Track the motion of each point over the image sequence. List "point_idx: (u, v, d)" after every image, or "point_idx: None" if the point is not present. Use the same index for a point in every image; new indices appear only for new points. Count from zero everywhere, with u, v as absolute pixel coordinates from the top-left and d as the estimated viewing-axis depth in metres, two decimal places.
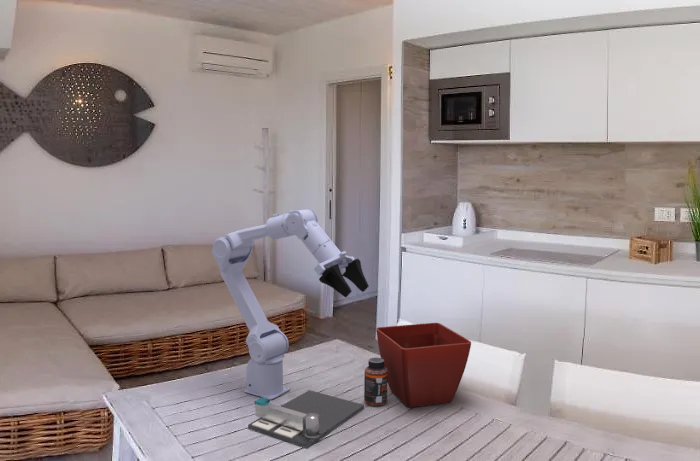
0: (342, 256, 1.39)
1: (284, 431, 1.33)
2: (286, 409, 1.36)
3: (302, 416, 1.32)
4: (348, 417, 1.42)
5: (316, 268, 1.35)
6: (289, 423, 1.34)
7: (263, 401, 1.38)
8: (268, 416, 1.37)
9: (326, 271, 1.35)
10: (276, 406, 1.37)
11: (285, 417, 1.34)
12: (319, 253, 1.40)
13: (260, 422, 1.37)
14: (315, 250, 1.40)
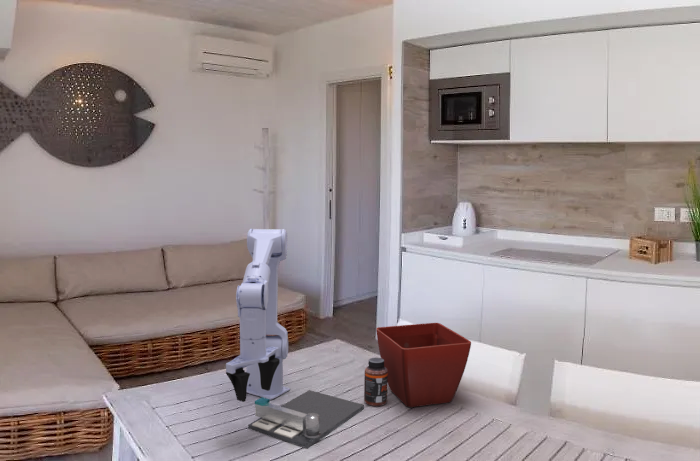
0: None
1: (284, 431, 1.33)
2: (286, 409, 1.36)
3: (302, 416, 1.32)
4: (348, 417, 1.42)
5: (228, 365, 1.26)
6: (289, 423, 1.34)
7: (263, 401, 1.38)
8: (268, 416, 1.37)
9: (235, 374, 1.27)
10: (276, 406, 1.37)
11: (285, 417, 1.34)
12: (244, 344, 1.29)
13: (260, 422, 1.37)
14: (243, 338, 1.29)
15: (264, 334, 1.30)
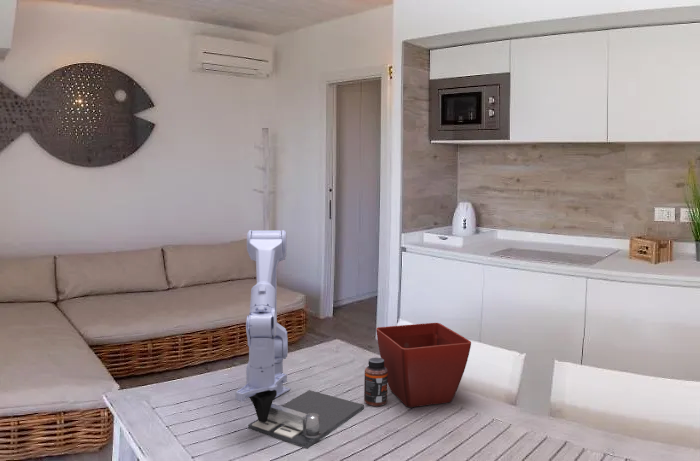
0: None
1: (284, 431, 1.33)
2: (286, 409, 1.36)
3: (302, 416, 1.32)
4: (348, 417, 1.42)
5: (237, 394, 1.29)
6: (289, 423, 1.34)
7: None
8: (268, 416, 1.37)
9: (256, 396, 1.33)
10: (276, 406, 1.37)
11: (285, 417, 1.35)
12: (253, 373, 1.32)
13: (260, 422, 1.37)
14: (252, 367, 1.32)
15: (273, 362, 1.34)
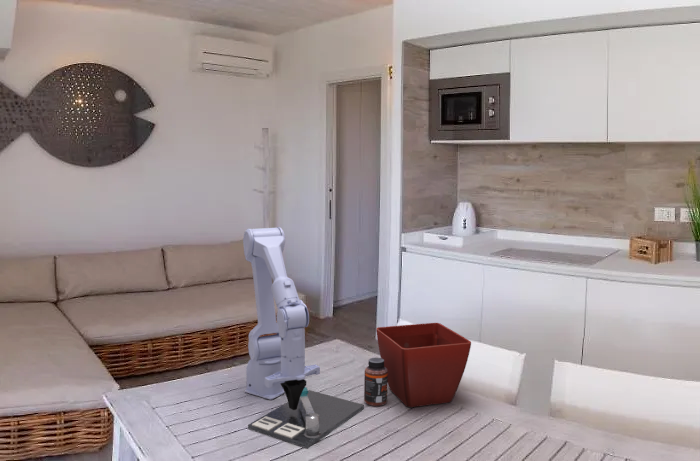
0: None
1: (284, 431, 1.33)
2: (308, 403, 1.39)
3: (308, 413, 1.34)
4: (348, 417, 1.42)
5: (266, 380, 1.37)
6: (304, 417, 1.37)
7: None
8: (300, 406, 1.43)
9: (285, 384, 1.40)
10: (306, 398, 1.42)
11: (303, 410, 1.38)
12: (283, 361, 1.39)
13: (260, 422, 1.37)
14: (282, 356, 1.39)
15: None
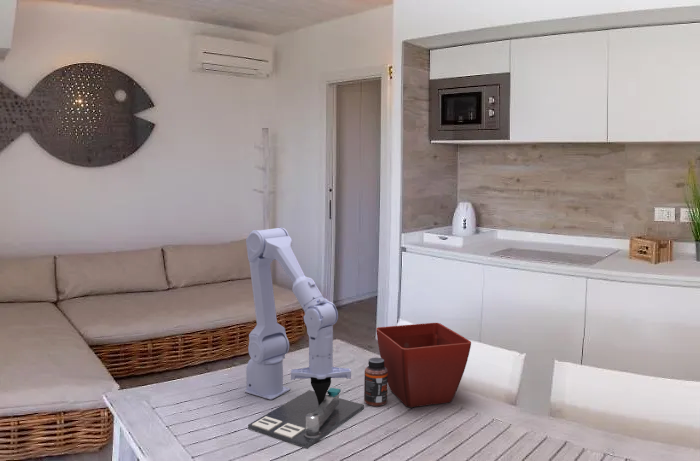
0: None
1: (284, 431, 1.33)
2: (325, 404, 1.39)
3: None
4: (348, 417, 1.42)
5: None
6: None
7: (331, 391, 1.45)
8: None
9: None
10: (329, 399, 1.41)
11: None
12: (309, 357, 1.42)
13: (260, 422, 1.37)
14: (309, 352, 1.42)
15: None
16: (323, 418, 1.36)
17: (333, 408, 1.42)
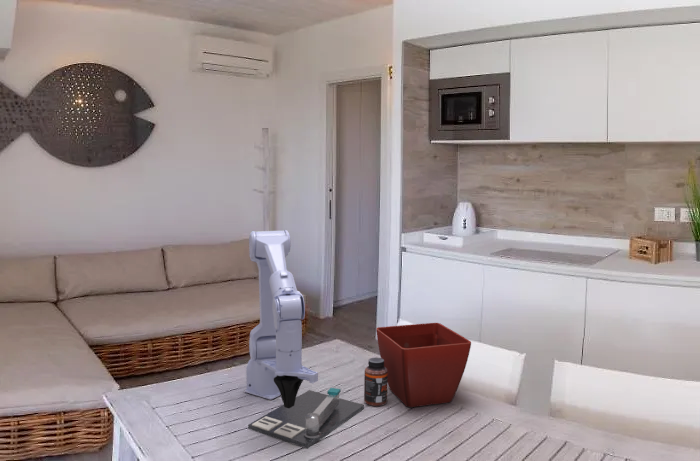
0: None
1: (284, 431, 1.33)
2: (325, 404, 1.38)
3: None
4: (348, 417, 1.42)
5: None
6: None
7: (331, 391, 1.45)
8: None
9: None
10: (329, 399, 1.41)
11: None
12: None
13: (260, 422, 1.37)
14: None
15: (301, 345, 1.31)
16: (323, 418, 1.36)
17: (333, 408, 1.42)
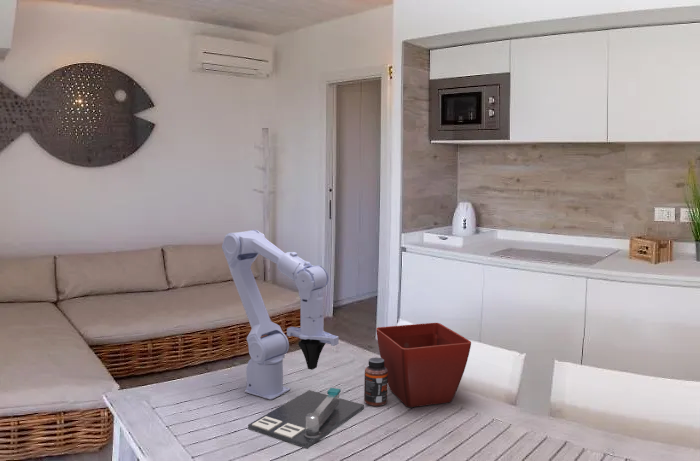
0: None
1: (284, 431, 1.33)
2: (325, 404, 1.38)
3: None
4: (348, 417, 1.42)
5: None
6: None
7: (331, 391, 1.45)
8: None
9: None
10: (329, 399, 1.41)
11: None
12: None
13: (260, 422, 1.37)
14: None
15: None
16: (323, 418, 1.36)
17: (333, 408, 1.42)
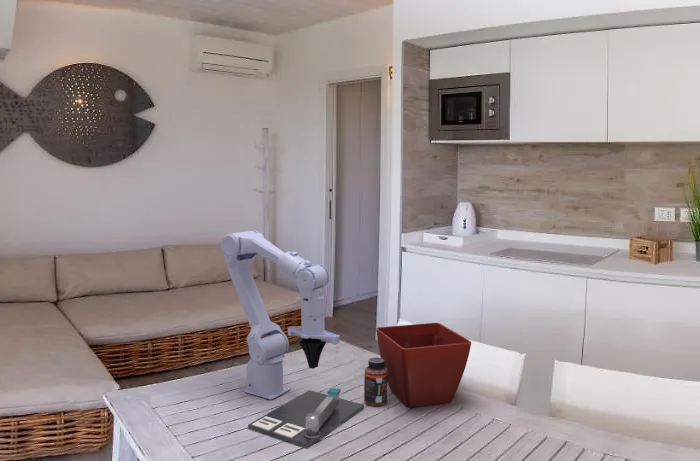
0: None
1: (284, 431, 1.33)
2: (325, 404, 1.38)
3: None
4: (348, 417, 1.42)
5: None
6: None
7: (331, 391, 1.45)
8: None
9: None
10: (329, 399, 1.41)
11: None
12: None
13: (260, 422, 1.37)
14: None
15: None
16: (323, 418, 1.36)
17: (333, 408, 1.42)
